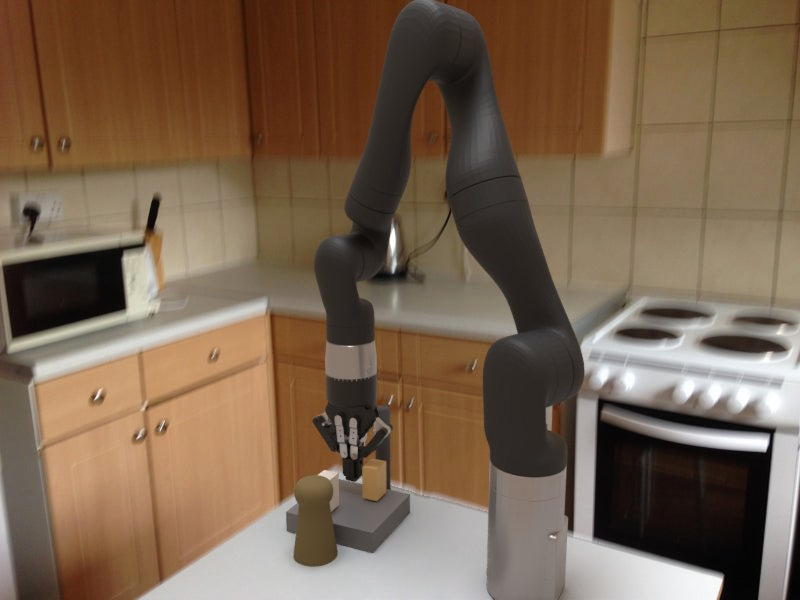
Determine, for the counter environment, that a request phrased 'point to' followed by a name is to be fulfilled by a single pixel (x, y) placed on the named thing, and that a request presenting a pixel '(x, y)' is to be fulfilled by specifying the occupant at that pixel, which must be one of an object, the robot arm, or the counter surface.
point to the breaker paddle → (374, 479)
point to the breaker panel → (361, 516)
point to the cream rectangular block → (335, 483)
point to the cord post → (384, 444)
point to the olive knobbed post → (314, 522)
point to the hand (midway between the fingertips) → (353, 479)
